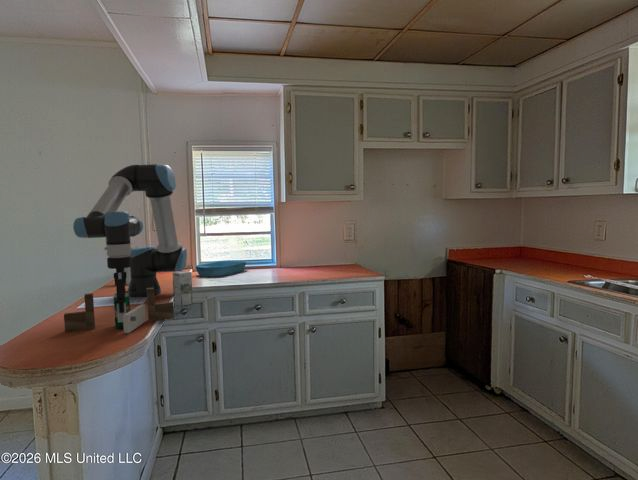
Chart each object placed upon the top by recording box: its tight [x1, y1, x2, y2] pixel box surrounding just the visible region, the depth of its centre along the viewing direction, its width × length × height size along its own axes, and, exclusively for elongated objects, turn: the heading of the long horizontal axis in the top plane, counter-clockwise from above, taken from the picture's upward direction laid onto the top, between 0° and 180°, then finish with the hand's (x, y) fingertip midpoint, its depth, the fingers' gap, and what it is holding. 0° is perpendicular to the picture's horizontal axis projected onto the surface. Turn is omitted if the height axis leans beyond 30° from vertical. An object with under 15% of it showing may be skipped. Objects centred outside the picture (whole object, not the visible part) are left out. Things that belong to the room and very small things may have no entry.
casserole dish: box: [194, 259, 247, 278], centre depth 260 cm, size 37×22×7 cm, turn 156°
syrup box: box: [172, 270, 193, 308], centre depth 173 cm, size 6×6×14 cm
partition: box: [63, 288, 175, 333], centre depth 145 cm, size 3×35×12 cm, turn 116°
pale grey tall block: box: [124, 245, 138, 286], centre depth 227 cm, size 7×6×21 cm
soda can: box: [112, 292, 131, 330], centre depth 141 cm, size 5×5×12 cm
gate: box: [123, 304, 148, 334], centre depth 140 cm, size 15×3×6 cm, turn 2°
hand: (122, 317), depth 141 cm, fingers open, 12 cm apart
